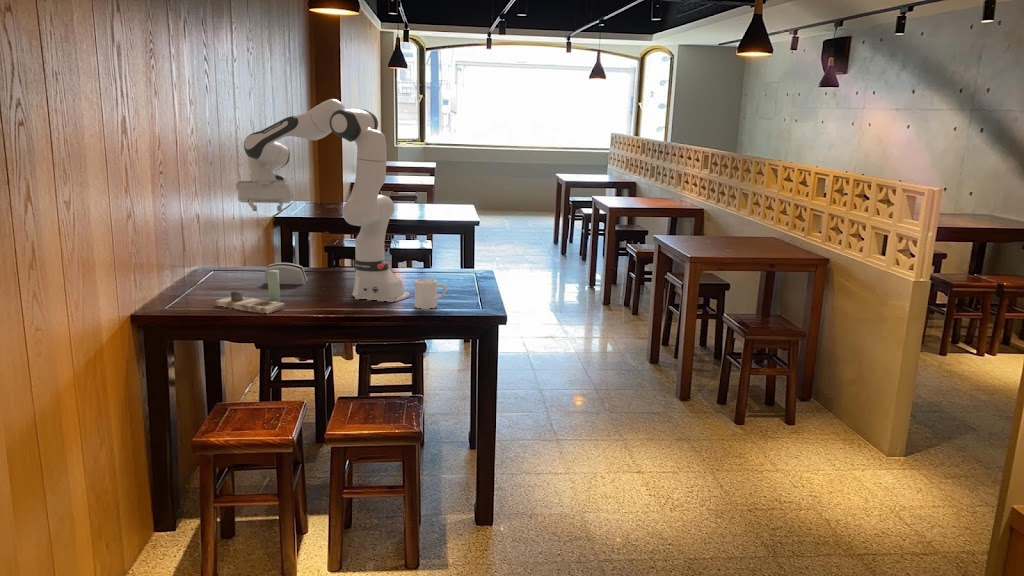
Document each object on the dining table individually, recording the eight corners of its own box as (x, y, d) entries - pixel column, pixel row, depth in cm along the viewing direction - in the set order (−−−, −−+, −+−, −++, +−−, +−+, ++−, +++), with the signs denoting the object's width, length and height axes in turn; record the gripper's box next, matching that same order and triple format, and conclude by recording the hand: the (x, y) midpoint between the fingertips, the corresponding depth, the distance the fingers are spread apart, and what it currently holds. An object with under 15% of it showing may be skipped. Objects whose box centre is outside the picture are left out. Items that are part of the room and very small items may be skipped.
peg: (282, 302, 276) (281, 270, 273) (275, 304, 272) (273, 272, 270) (274, 300, 277) (272, 269, 275) (266, 303, 274) (265, 271, 271)
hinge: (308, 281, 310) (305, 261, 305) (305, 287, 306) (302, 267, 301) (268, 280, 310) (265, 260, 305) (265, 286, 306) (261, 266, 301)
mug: (445, 310, 270) (445, 284, 268) (413, 308, 271) (412, 282, 269) (448, 304, 278) (448, 279, 276) (417, 303, 279) (417, 278, 277)
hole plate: (284, 308, 267) (284, 295, 266) (267, 314, 259) (267, 300, 258) (233, 300, 276) (232, 287, 275) (215, 305, 268) (214, 292, 267)
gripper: (236, 176, 286) (240, 205, 280) (289, 177, 296) (295, 206, 290) (234, 185, 291) (238, 214, 285) (287, 186, 301) (292, 215, 295)
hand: (267, 210), depth 288 cm, fingers open, 8 cm apart
